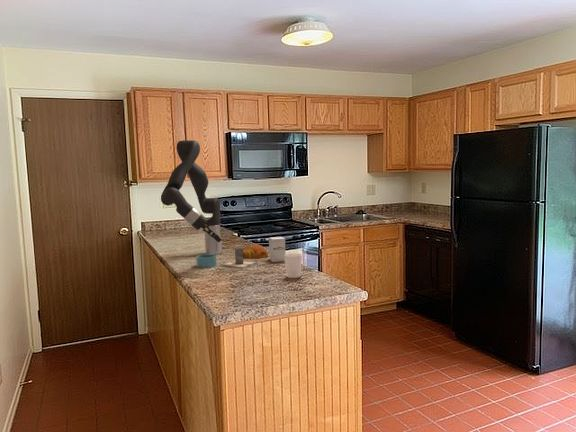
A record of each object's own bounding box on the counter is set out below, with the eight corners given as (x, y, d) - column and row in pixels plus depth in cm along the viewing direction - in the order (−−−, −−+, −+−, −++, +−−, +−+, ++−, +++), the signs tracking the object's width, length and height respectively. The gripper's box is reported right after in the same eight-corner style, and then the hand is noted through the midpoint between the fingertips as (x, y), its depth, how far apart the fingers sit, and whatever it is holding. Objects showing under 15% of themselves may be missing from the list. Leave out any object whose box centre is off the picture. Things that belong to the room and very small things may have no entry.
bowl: (205, 263, 238) (205, 253, 237) (220, 265, 233) (220, 254, 232) (192, 267, 229) (192, 257, 229) (208, 269, 224) (207, 258, 224)
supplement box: (272, 263, 235) (271, 239, 234) (269, 260, 243) (268, 237, 241) (285, 261, 237) (285, 238, 236) (282, 259, 244) (281, 236, 243)
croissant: (237, 261, 254) (235, 247, 253) (259, 253, 264) (257, 240, 263) (252, 264, 243) (249, 250, 242) (274, 256, 253) (272, 242, 252)
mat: (236, 261, 241) (236, 260, 241) (261, 264, 233) (261, 263, 233) (217, 267, 228) (217, 266, 227) (243, 270, 220) (243, 269, 219)
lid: (236, 261, 239) (236, 245, 238) (257, 263, 233) (256, 246, 232) (221, 266, 228) (220, 249, 227) (242, 268, 222) (241, 250, 221)
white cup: (292, 273, 210) (291, 252, 209) (305, 275, 205) (305, 254, 204) (281, 276, 204) (280, 255, 203) (295, 279, 199) (294, 257, 198)
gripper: (201, 214, 216) (226, 236, 220) (199, 212, 230) (222, 232, 234) (190, 225, 215) (215, 247, 219) (189, 222, 229) (213, 243, 233)
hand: (219, 240), depth 227 cm, fingers open, 8 cm apart
